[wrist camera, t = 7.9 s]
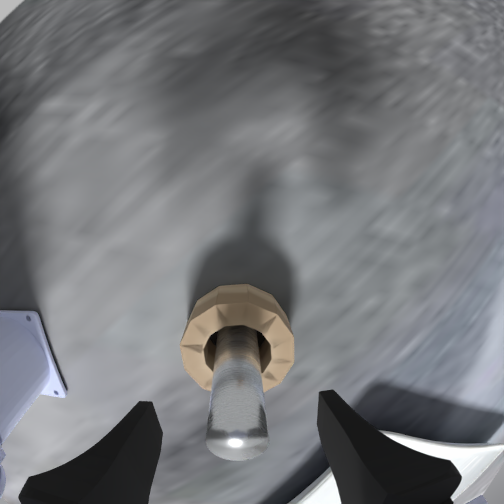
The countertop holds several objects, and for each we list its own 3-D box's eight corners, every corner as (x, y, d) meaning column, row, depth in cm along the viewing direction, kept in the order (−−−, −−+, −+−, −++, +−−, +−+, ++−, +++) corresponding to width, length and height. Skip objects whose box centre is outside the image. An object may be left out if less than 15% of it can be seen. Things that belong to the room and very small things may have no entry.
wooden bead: (196, 372, 21) (191, 399, 18) (182, 288, 19) (172, 307, 16) (287, 366, 21) (294, 392, 18) (285, 280, 19) (293, 298, 16)
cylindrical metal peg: (223, 346, 20) (215, 463, 10) (214, 315, 20) (197, 426, 10) (259, 339, 20) (274, 455, 10) (251, 307, 20) (262, 417, 10)
